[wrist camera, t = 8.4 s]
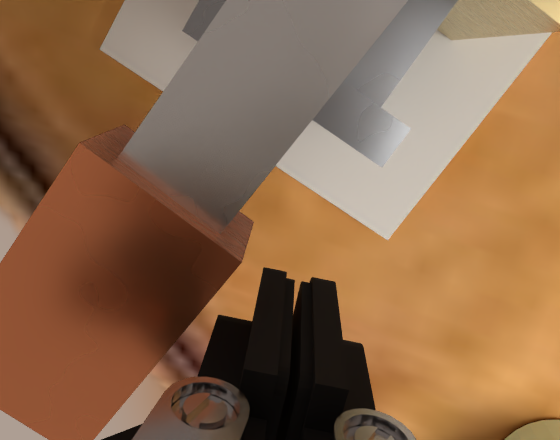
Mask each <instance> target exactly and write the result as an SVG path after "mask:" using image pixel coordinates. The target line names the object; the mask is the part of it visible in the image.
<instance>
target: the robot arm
mask: <svg viewBox="0 0 560 440" xmlns="http://www.w3.org/2000/svg"><path fill="white" fill-rule="evenodd" d="M286 275H287V272H285V271H280V270H275V269H270V268H265V267H264V268H263V273H262V278H261V282H260V287H259V292H258V297H257V302H256V307H255V311H254V316H253V321H247V320H242V319H237V318H233V317H228V316H223V315H218V317H217V320H216V323H215V326H214V329H213V332H212V335H211V338H210V341H209V344H208V347H207V350H206V353H205V356H204V359H203V362H202V365H201V368H200V371H199V374H198V377H191V378H186V379H182V380H180V381H178V382H176V383H174V384H172V385H171V386H170V387H169V388H168V389H167V390H166V391H165V392H164V393H163V395H162V396H161V398H160V399H159V401H158V402H157V404H156V405H155V407H154V408H153V410H152V411H151V412H150V414H149V415H148V417H147V418H146V420H145V421H144V423H143V424H141V425H138V426H136V427H133V428H130V429H128V430H126V431H123V432H120V433H118V434H115V435H113V436H110V437H107V438H104V439H102V440H416V438H415V437H414V435H413V434H412V432H411V431H410V430H409V429H408V428H407V427H406V426H404V425H403V424H402V423H401V422H399V421H398V420H396V419H394V418H393V417H391V416H389V415H387V414H384V413H382V412H379V411H376V410H375V405H374V399H373V394H372V389H371V384H370V379H369V373H368V368H367V363H366V358H365V353H364V348H363V345H362V344H361V343H356V342H351V341H346V340H343V338H342V330H341V322H340V314H339V306H338V298H337V290H336V283H335V282H333V281H329V280H324V279H319V278H314V277H312V278H311V280H310V283H307V282H301V284H300V288H299V292H298V297H297V301H296V305H295V309H294V314H293V303H294V283H295V280H293V279H288V278H286Z"/></svg>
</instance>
